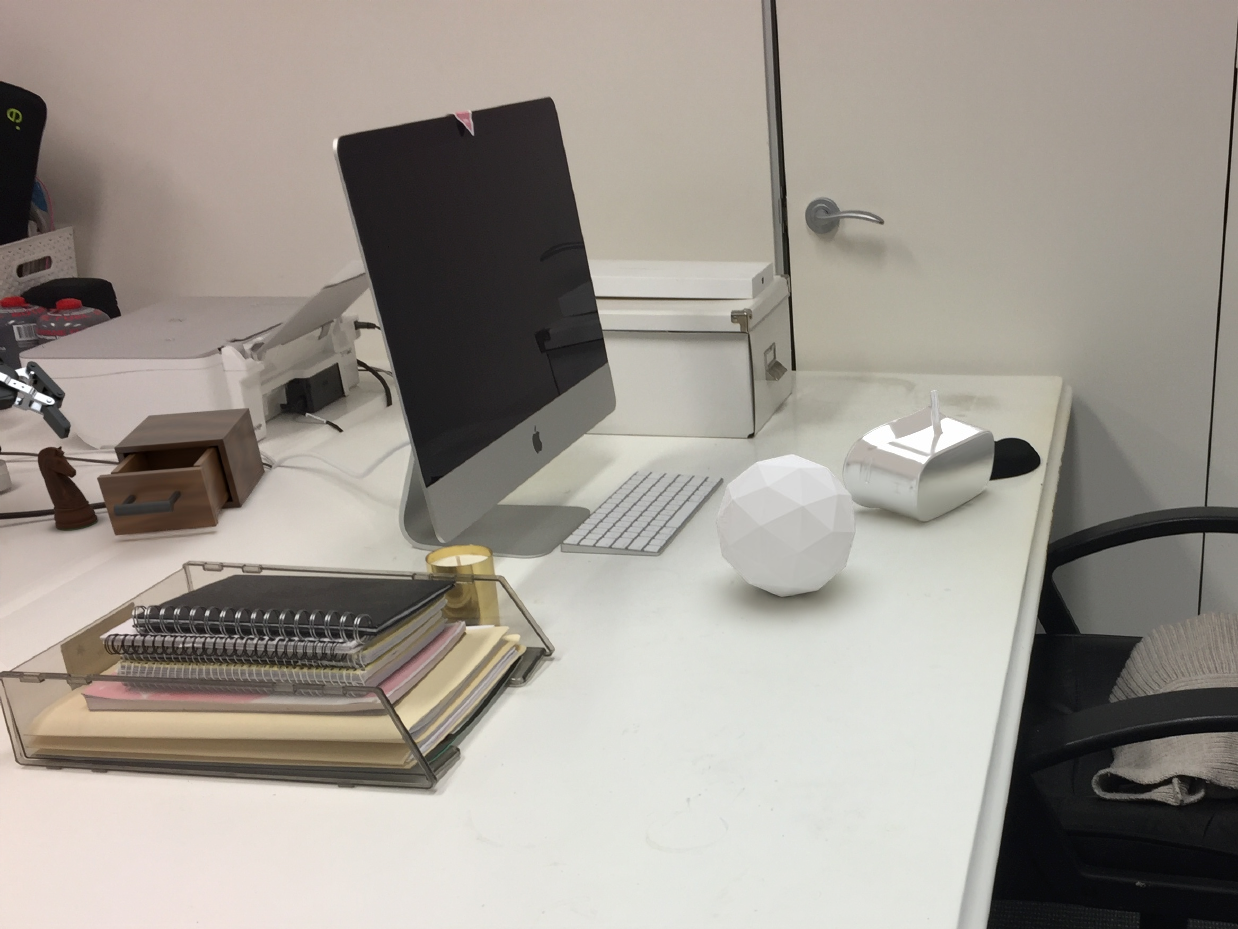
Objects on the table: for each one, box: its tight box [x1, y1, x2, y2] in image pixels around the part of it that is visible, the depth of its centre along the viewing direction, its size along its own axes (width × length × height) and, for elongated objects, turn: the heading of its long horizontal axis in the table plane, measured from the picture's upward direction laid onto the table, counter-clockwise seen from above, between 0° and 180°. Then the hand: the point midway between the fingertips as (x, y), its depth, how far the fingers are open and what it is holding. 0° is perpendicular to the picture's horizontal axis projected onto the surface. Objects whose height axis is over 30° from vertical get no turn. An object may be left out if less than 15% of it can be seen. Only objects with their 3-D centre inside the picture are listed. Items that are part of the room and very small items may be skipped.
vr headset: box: [842, 390, 995, 523], centre depth 153 cm, size 18×11×14 cm, turn 142°
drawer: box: [96, 445, 231, 536], centre depth 152 cm, size 19×11×7 cm, turn 12°
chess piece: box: [37, 445, 99, 531], centre depth 154 cm, size 5×5×10 cm
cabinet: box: [114, 407, 266, 510], centre depth 163 cm, size 15×13×9 cm
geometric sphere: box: [715, 453, 857, 598], centre depth 130 cm, size 14×15×15 cm
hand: (33, 444), depth 153 cm, fingers open, 8 cm apart
